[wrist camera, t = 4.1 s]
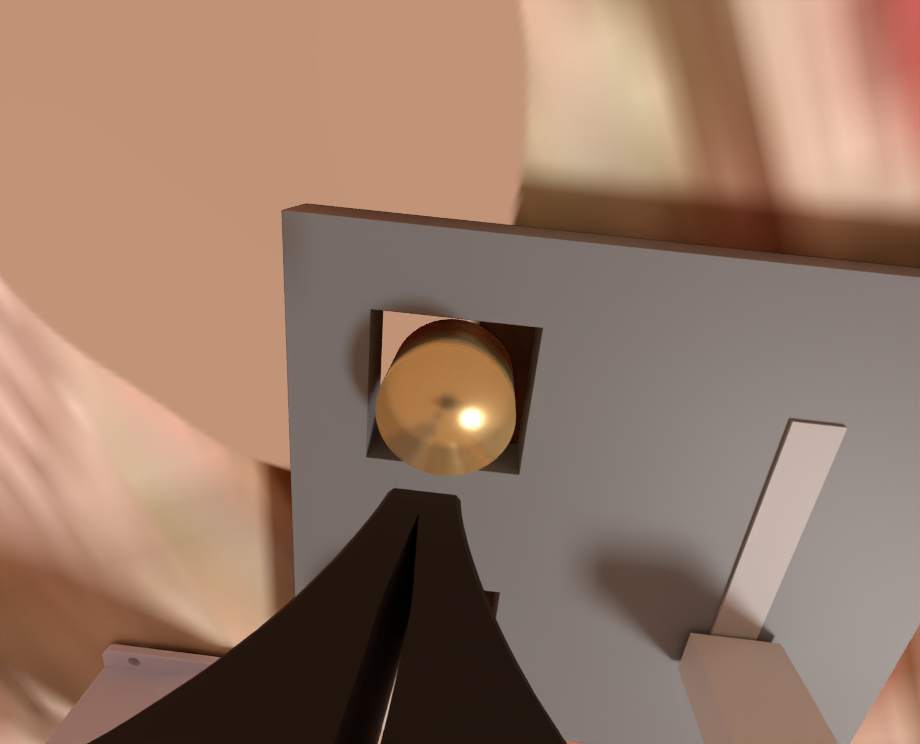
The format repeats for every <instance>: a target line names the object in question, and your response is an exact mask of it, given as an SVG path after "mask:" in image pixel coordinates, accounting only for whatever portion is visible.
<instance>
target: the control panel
mask: <svg viewBox="0 0 920 744" xmlns="http://www.w3.org/2000/svg"><path fill="white" fill-rule="evenodd" d="M282 234H283V265H284V293H285V322H286V348H287V378H288V407H289V436H290V464H291V493H292V521H293V550H294V578H295V596H296V595H298V594H299V593H300V592H301V591H302V590H303V589H304V588H305V587H306V586H307V585H308V584H309V583H310V582H311V581H312V580H313V579H314V578H315V577H316V576H317V575H318V574H319V573H320V572H321V571H322V570H323V569H324V568H325V567H326V566H327V565H328V564H329V563H330V562H331V561H332V560H333V559H334V558H335V557H336V556H337V555H338V554H339V552H340V551H341V550H342V549H343V548H344V547H345V546H346V545H347V543H348V542H349V541H350V540H351V539H352V538H353V537H354V536H355V534H356V533H357V532H358V531H359V530H360V529H361V527H362V526H363V525H364V524H365V523H366V521H367V520H368V519H369V518H370V516H371V515H372V514H373V512H374V511H375V510H376V509H377V507H378V506H379V505H380V503H381V502H382V500H383V499H384V497H385V496H386V494H387V493H388V492H389V491H390V490H392V489H393V488H400V489H409V490H417V491H426V492H434V493H443V494H452V495H457V497H458V498H459V499H460V500H461V511H462V519H463V524H464V529H465V533H466V537H467V541H468V545H469V548H470V551H471V555H472V558H473V561H474V564H475V566H476V569H477V572H478V575H479V578H480V581H481V584H482V586H483V589H484V591H493V592H494V594H493V601H492V607H491V608H492V611H493V613H494V615H495V618H496V620H497V622H498V624H499V626H500V629H501V631H502V633H503V635H504V637H505V639H506V641H507V643H508V645H509V647H510V649H511V651H512V653H513V655H514V657H515V658H516V660H517V662H518V664H519V666H520V668H521V670H522V671H523V673H524V675H525V677H526V679H527V680H528V682H529V684H530V686H531V687H532V689H533V691H534V693H535V694H536V696H537V698H538V699H539V701H540V702H541V704H542V706H543V707H544V709H545V710H546V712H547V713H548V715H549V716H550V718H551V720H552V721H553V723H554V724H555V726H556V727H557V729H558V730H559V732H560V734H561V735H562V737H563V738H564V740H565V741H571V742H579V743H587V744H704V741H703V739H702V736H701V733H700V730H699V727H698V724H697V721H696V719H695V716H694V713H693V710H692V707H691V704H690V701H689V699H688V696H687V693H686V690H685V687H684V684H683V682H682V679H681V676H680V673H679V670H678V666H679V663H680V661H681V658H682V655H683V652H684V650H685V647H686V644H687V641H688V638H689V636H690V633H697V634H705V635H713V636H721V637H729V638H737V639H746V640H754V641H762V642H770V643H778V644H781V645H782V647H783V648H784V650H785V652H786V654H787V655H788V657H789V659H790V660H791V662H792V664H793V666H794V667H795V669H796V671H797V673H798V674H799V676H800V678H801V680H802V681H803V683H804V685H805V686H806V688H807V690H808V692H809V693H810V695H811V697H812V699H813V700H814V702H815V704H816V706H817V707H818V709H819V711H820V712H821V714H822V716H823V718H824V719H825V721H826V723H827V725H828V726H829V728H830V730H831V732H832V733H833V735H834V737H835V738H836V740H837V742H838V744H850V743H851V741H852V739H853V738H854V736H855V734H856V732H857V731H858V729H859V727H860V726H861V724H862V722H863V720H864V719H865V717H866V715H867V714H868V712H869V710H870V708H871V707H872V705H873V703H874V702H875V700H876V698H877V697H878V695H879V693H880V691H881V690H882V688H883V686H884V685H885V683H886V681H887V679H888V678H889V676H890V674H891V673H892V671H893V669H894V667H895V666H896V664H897V662H898V661H899V659H900V657H901V655H902V654H903V652H904V650H905V649H906V647H907V645H908V644H909V642H910V640H911V638H912V637H913V635H914V633H915V632H916V630H917V628H918V626H919V625H920V268H913V267H904V266H894V265H885V264H875V263H866V262H856V261H847V260H837V259H828V258H818V257H809V256H799V255H790V254H780V253H771V252H761V251H752V250H742V249H733V248H724V247H714V246H705V245H695V244H686V243H676V242H667V241H657V240H648V239H638V238H629V237H619V236H610V235H600V234H591V233H581V232H572V231H562V230H553V229H543V228H534V227H524V226H515V225H505V224H495V223H486V222H476V221H467V220H457V219H448V218H438V217H429V216H419V215H410V214H401V213H391V212H382V211H372V210H363V209H353V208H343V207H334V206H324V205H315V204H303V205H299V206H295V207H291V208H288V209H284V210H282ZM383 310H384V311H393V312H403V313H411V314H421V315H430V316H439V317H448V318H457V319H466V320H475V321H484V322H494V323H503V324H512V325H521V326H530V327H535V332H534V339H533V345H532V352H531V358H530V364H529V371H528V377H527V384H526V390H525V396H524V403H523V409H522V416H521V422H520V428H519V435H518V441H517V444H515V443H508V445H507V447H506V448H505V450H504V451H503V452H502V453H501V454H500V455H499V456H498V457H497V458H496V459H495V460H494V461H493V462H491V463H490V464H488V465H487V466H485V467H483V468H481V469H479V470H477V471H474V472H471V473H467V474H463V475H456V476H442V475H435V474H430V473H426V472H423V471H420V470H418V469H415V468H413V467H412V466H410V465H408V464H406V463H405V462H404V461H402V460H401V459H399V458H398V457H397V456H396V455H395V454H394V453H393V452H392V451H391V450H390V448H389V447H388V446H387V444H386V443H385V441H384V440H383V438H382V436H381V434H380V432H379V429H378V426H377V421H376V414H375V406H376V398H377V395H378V391H379V389H380V377H381V351H382V327H383Z"/></svg>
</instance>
